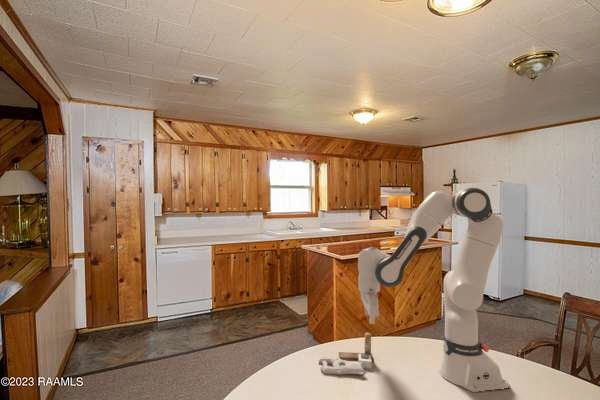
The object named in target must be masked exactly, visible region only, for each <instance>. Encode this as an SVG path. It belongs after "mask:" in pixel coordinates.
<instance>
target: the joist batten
mask: <svg viewBox="0 0 600 400" xmlns="http://www.w3.org/2000/svg"><path fill="white" fill-rule="evenodd" d="M359 354H365V352H347V351H346V352H345V351H342V352H341V351H340V352H338V357H339V358H340V359H342V360H346V361H349V360H350V361H358V358H359ZM374 360H375V359H374V356H373V353H372V352H371V361H372V362H373V361H374Z"/></svg>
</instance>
